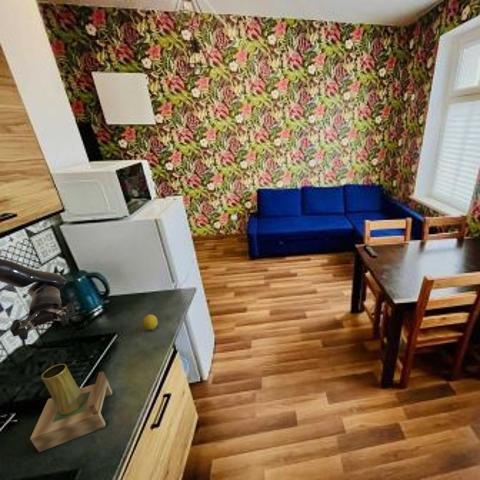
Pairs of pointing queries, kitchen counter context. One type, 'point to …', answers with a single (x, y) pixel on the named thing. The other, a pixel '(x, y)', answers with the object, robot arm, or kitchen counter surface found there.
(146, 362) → the kitchen counter surface
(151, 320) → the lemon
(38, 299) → the robot arm
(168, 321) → the kitchen counter surface
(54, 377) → the vase
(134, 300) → the kitchen counter surface
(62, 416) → the wooden tray
